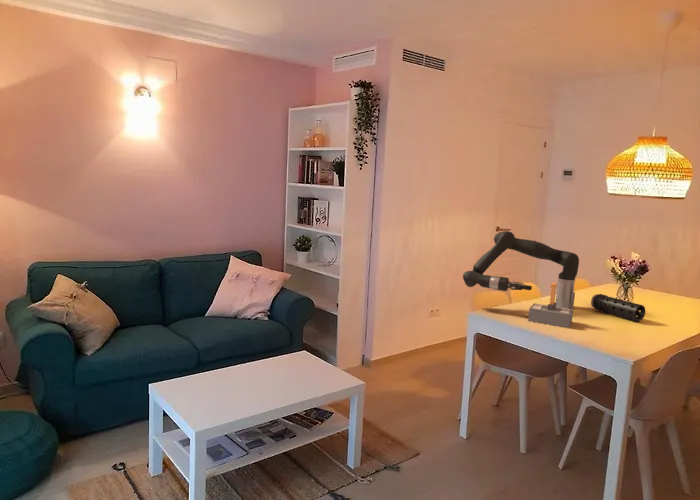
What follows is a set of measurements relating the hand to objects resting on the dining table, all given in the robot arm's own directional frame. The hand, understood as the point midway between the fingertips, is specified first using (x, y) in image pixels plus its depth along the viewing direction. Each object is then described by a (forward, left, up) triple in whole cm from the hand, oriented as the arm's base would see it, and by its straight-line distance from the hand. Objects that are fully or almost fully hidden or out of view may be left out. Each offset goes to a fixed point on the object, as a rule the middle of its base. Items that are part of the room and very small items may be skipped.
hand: (531, 288), depth 279 cm
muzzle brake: (-56, -3, -17) cm, 59 cm away
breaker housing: (-8, +7, -16) cm, 20 cm away
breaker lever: (-8, +7, -8) cm, 14 cm away
